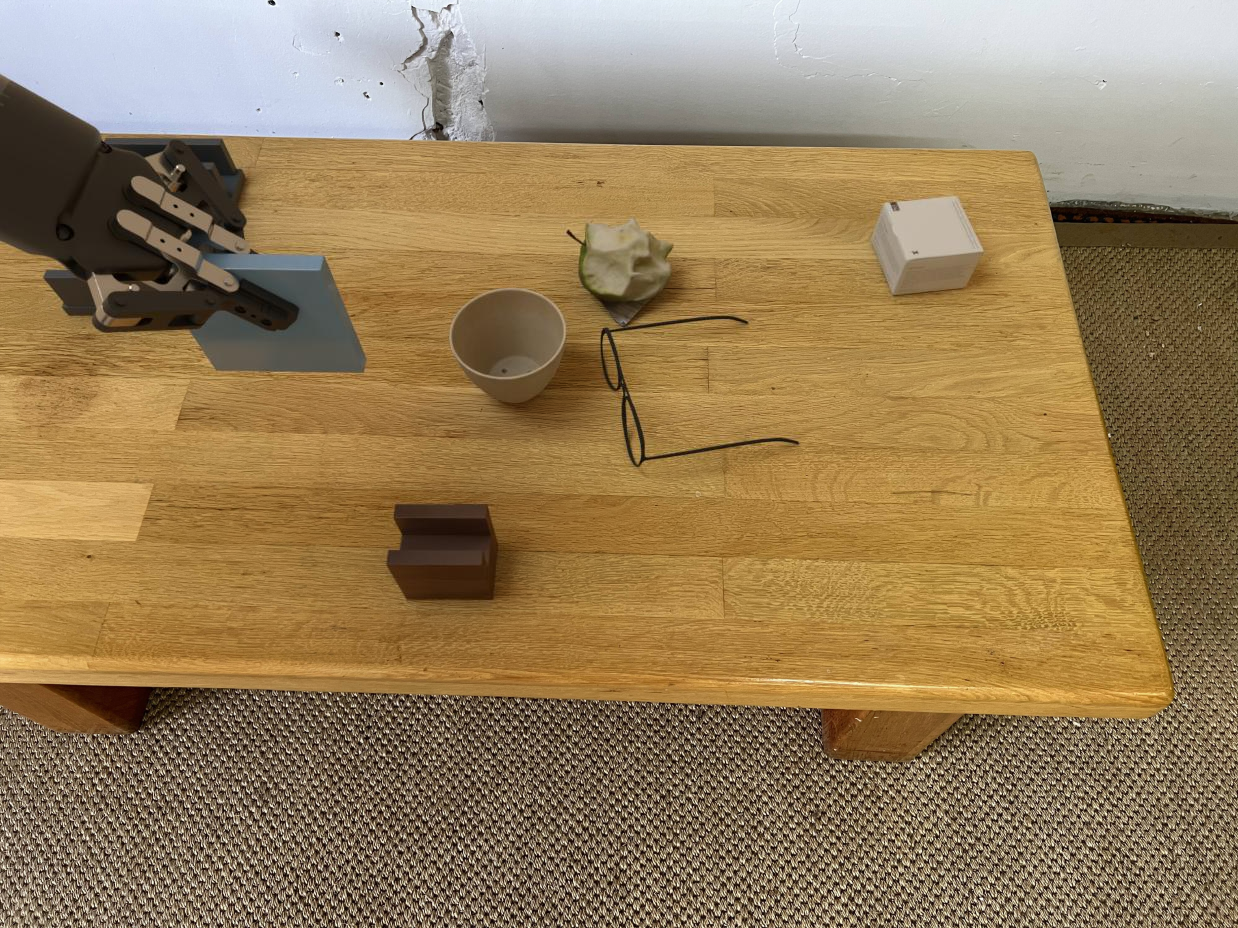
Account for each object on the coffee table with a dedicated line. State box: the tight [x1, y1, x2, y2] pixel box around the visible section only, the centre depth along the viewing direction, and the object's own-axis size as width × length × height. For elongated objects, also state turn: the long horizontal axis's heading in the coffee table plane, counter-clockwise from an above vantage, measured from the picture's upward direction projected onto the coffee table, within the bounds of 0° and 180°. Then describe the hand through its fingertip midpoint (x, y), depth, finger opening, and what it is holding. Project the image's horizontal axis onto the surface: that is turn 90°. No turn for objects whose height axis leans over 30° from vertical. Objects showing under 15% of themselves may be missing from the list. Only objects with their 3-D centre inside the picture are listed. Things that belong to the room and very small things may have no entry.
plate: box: [169, 253, 367, 374], centre depth 54 cm, size 1×10×10 cm, turn 89°
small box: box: [870, 195, 985, 296], centre depth 85 cm, size 8×8×5 cm
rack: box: [42, 137, 247, 316], centre depth 86 cm, size 19×13×5 cm
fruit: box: [566, 217, 675, 327], centre depth 83 cm, size 9×9×8 cm
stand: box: [385, 503, 499, 601], centre depth 67 cm, size 5×7×7 cm
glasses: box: [599, 315, 800, 468], centre depth 78 cm, size 14×15×5 cm
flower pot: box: [448, 287, 567, 404], centre depth 77 cm, size 10×10×7 cm
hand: (294, 308), depth 53 cm, fingers closed on plate, 1 cm apart
